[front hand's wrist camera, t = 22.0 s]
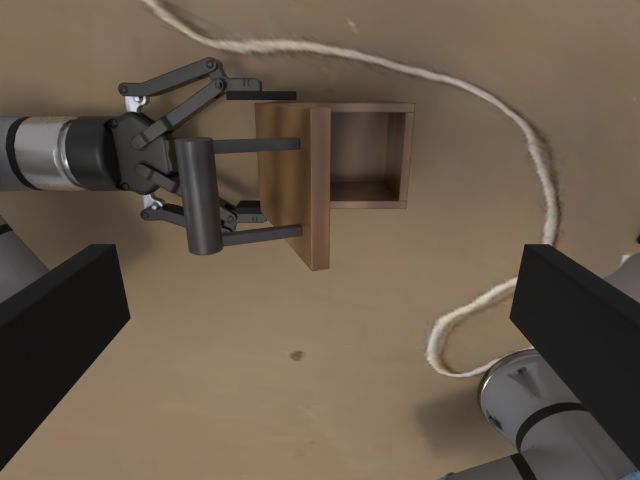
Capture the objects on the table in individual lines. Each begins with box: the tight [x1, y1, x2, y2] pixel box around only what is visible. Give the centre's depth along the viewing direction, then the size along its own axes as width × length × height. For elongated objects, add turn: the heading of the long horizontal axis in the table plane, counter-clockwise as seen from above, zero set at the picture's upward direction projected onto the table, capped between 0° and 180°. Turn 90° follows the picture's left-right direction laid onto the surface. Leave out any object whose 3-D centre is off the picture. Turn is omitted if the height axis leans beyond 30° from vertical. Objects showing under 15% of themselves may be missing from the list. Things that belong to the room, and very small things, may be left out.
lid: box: [174, 103, 331, 271], centre depth 28 cm, size 15×10×9 cm
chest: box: [268, 102, 415, 209], centre depth 41 cm, size 14×10×10 cm
